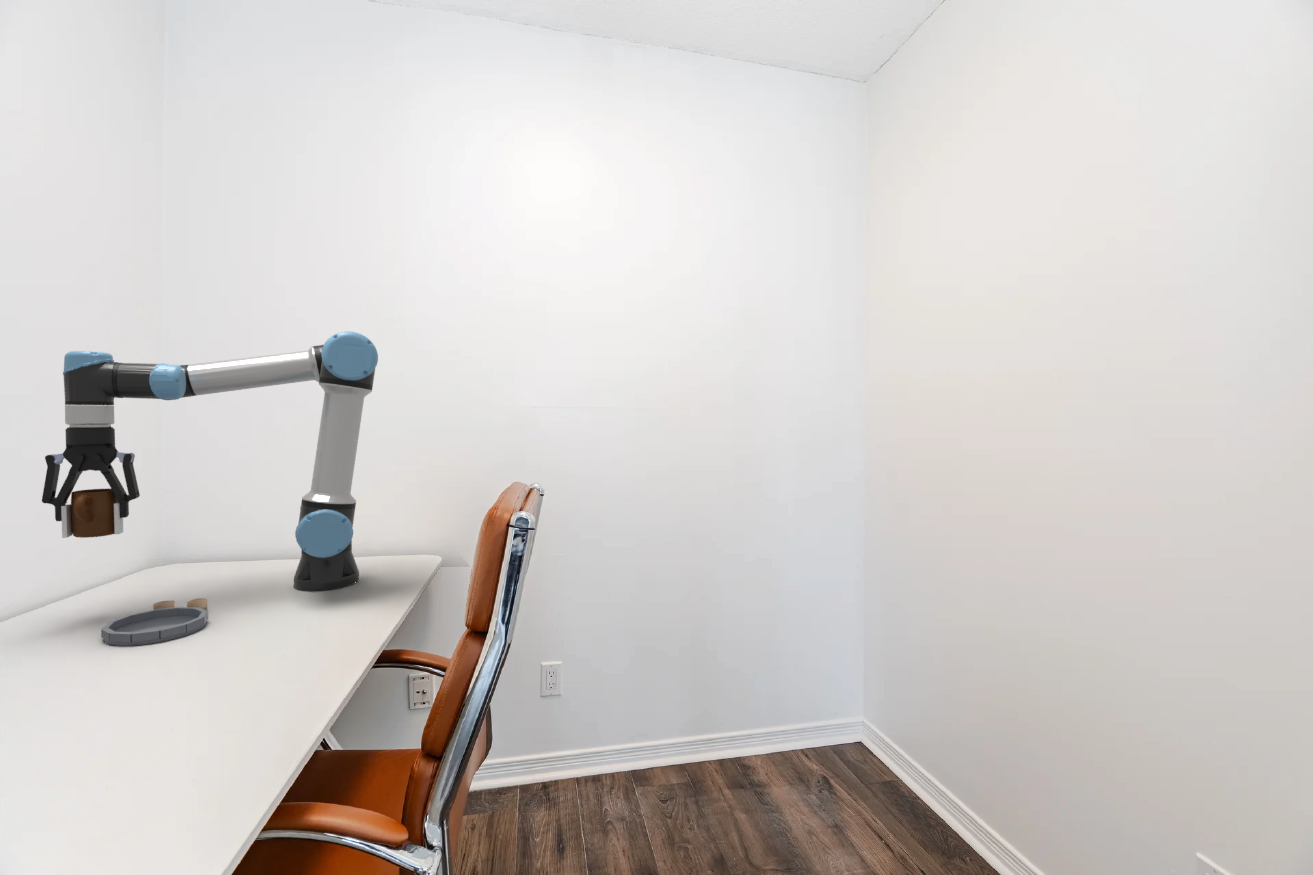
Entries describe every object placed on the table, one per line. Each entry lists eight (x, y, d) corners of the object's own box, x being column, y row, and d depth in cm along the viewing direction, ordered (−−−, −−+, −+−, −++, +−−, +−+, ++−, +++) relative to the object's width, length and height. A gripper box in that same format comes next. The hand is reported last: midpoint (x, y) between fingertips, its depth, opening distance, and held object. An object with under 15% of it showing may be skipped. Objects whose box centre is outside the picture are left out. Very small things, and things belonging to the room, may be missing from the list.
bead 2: (208, 610, 136) (208, 597, 136) (205, 615, 133) (205, 601, 133) (189, 612, 134) (188, 599, 134) (185, 617, 131) (185, 604, 131)
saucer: (213, 613, 134) (213, 602, 134) (198, 638, 120) (197, 626, 119) (118, 624, 126) (118, 613, 126) (89, 651, 112) (89, 639, 112)
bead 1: (176, 612, 134) (176, 599, 134) (172, 617, 131) (172, 604, 131) (155, 615, 133) (155, 601, 132) (151, 620, 129) (151, 606, 129)
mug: (103, 540, 123) (101, 494, 122) (53, 543, 120) (52, 496, 119) (126, 530, 134) (125, 487, 133) (81, 532, 131) (80, 489, 130)
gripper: (157, 425, 134) (159, 527, 135) (31, 425, 125) (35, 535, 126) (147, 426, 127) (150, 533, 128) (14, 426, 118) (18, 542, 119)
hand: (93, 534), depth 127 cm, fingers closed on mug, 7 cm apart
